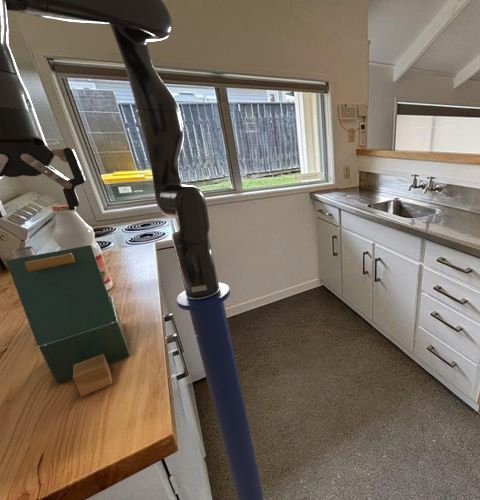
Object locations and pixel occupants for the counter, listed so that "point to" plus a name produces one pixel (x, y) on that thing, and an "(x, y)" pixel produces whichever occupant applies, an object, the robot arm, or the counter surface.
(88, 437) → the counter surface
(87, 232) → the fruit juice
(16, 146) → the robot arm
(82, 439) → the counter surface
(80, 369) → the block
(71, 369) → the bin
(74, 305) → the bin lid
